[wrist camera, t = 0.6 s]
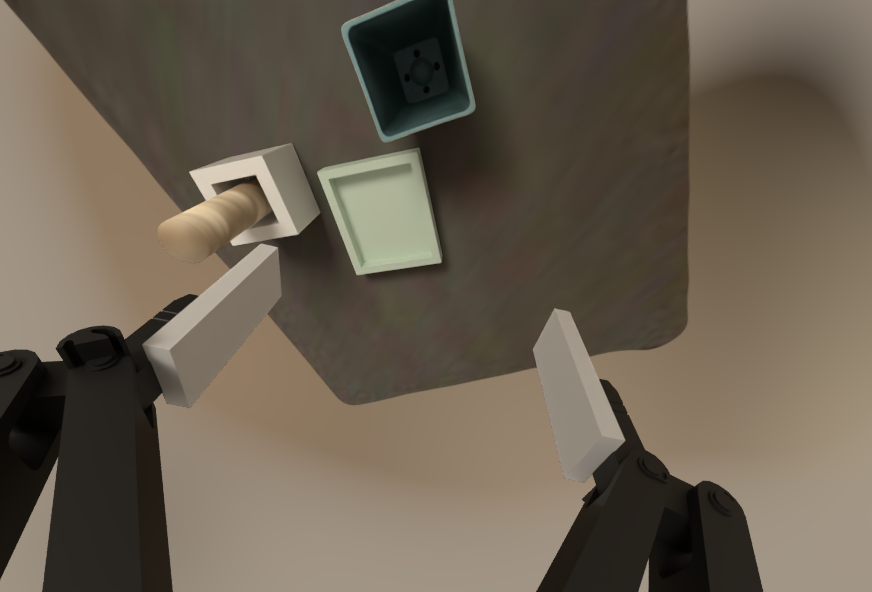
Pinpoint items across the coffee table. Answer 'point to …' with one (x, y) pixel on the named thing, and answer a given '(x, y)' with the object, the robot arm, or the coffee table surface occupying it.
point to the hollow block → (265, 190)
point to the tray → (383, 211)
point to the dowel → (214, 222)
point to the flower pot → (410, 65)
